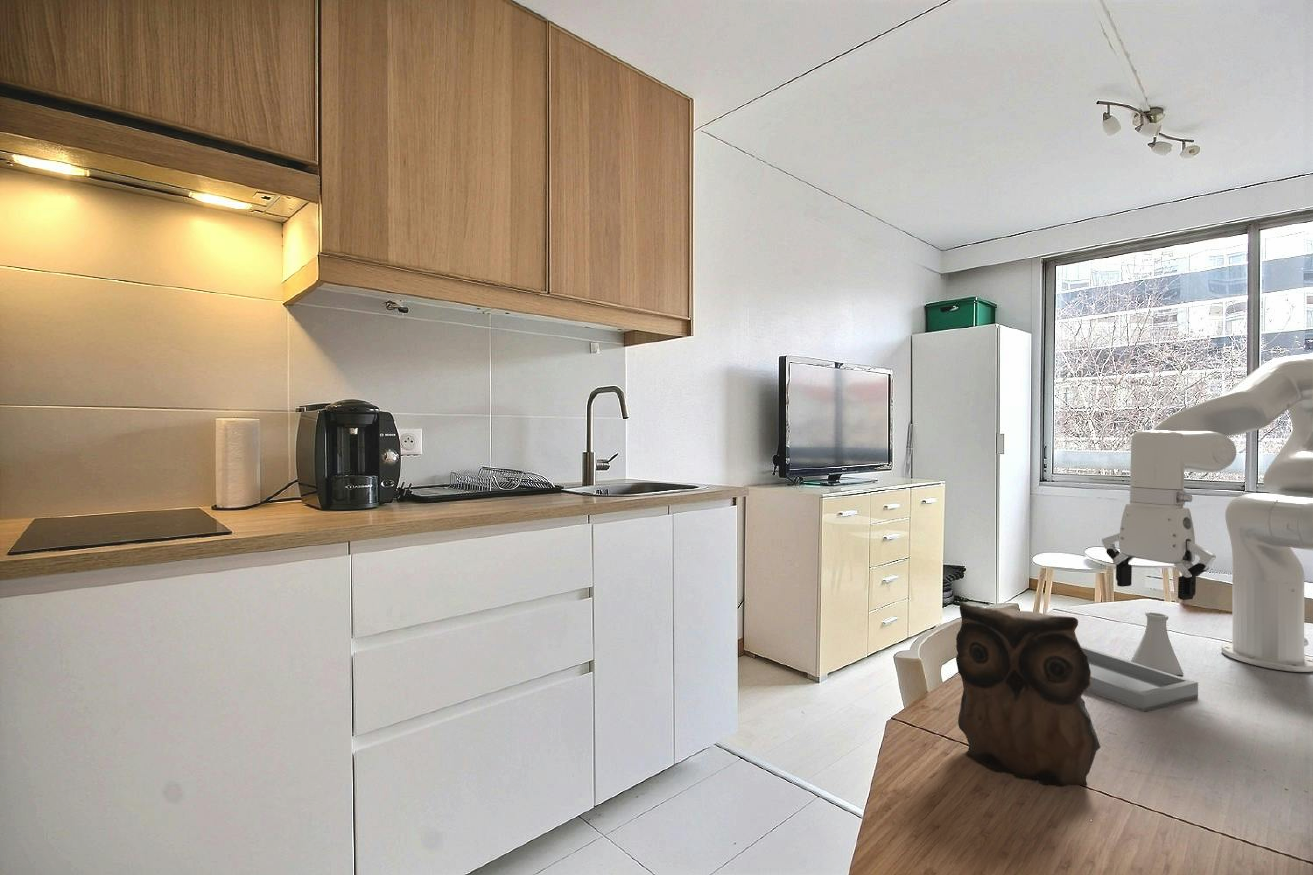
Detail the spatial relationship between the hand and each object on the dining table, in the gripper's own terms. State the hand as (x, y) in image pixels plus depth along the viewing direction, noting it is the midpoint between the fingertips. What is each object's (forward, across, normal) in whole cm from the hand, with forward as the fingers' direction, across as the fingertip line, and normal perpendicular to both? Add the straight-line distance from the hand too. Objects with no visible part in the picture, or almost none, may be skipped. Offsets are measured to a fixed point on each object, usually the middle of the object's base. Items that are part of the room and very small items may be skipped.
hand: (1153, 592), depth 108 cm
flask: (+14, 0, -1) cm, 14 cm away
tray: (+14, 0, +14) cm, 20 cm away
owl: (+16, -13, +51) cm, 55 cm away
